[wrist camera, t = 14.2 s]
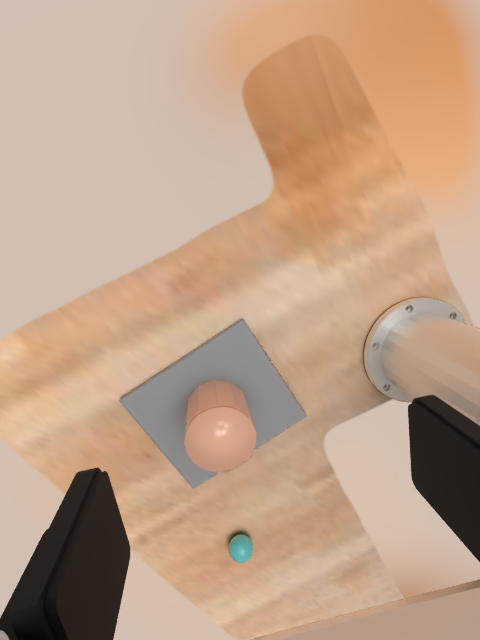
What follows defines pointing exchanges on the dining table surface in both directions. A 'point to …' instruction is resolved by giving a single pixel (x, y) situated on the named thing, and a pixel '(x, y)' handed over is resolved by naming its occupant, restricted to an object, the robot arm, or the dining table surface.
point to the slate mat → (201, 367)
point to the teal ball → (240, 548)
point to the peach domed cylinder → (218, 427)
